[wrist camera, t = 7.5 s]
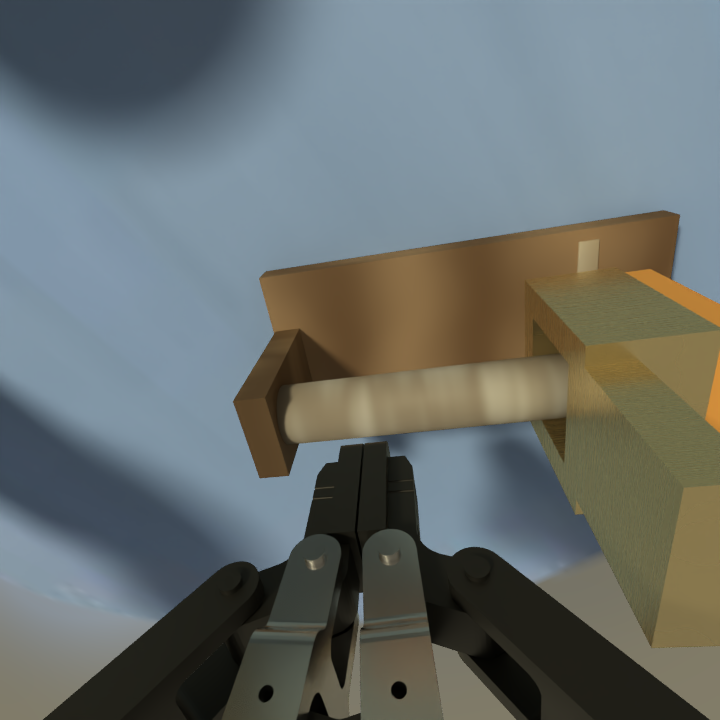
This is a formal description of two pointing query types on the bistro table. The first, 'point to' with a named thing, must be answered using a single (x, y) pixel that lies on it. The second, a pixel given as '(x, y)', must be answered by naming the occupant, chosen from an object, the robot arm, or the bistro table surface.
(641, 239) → the pipe board
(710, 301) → the orange upright board
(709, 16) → the bistro table surface
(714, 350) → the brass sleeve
